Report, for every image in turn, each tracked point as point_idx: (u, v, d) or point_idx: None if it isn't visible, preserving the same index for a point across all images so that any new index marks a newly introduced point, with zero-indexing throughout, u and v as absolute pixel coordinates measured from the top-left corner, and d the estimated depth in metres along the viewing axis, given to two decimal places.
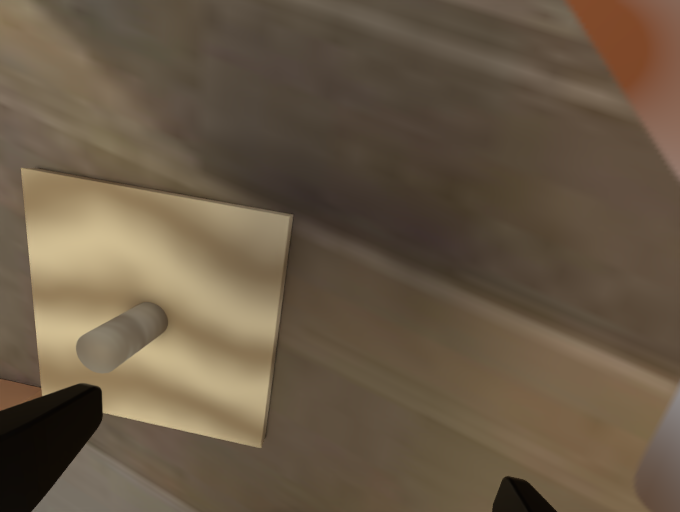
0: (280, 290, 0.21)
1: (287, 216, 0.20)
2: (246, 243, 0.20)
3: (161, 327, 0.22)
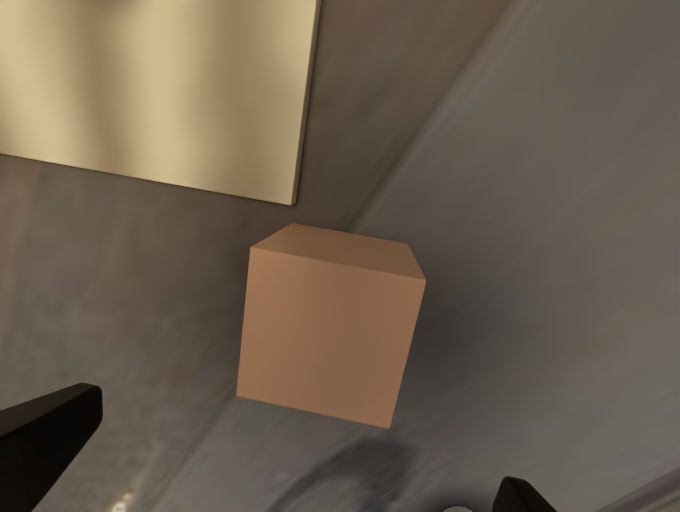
0: None
1: None
2: None
3: None
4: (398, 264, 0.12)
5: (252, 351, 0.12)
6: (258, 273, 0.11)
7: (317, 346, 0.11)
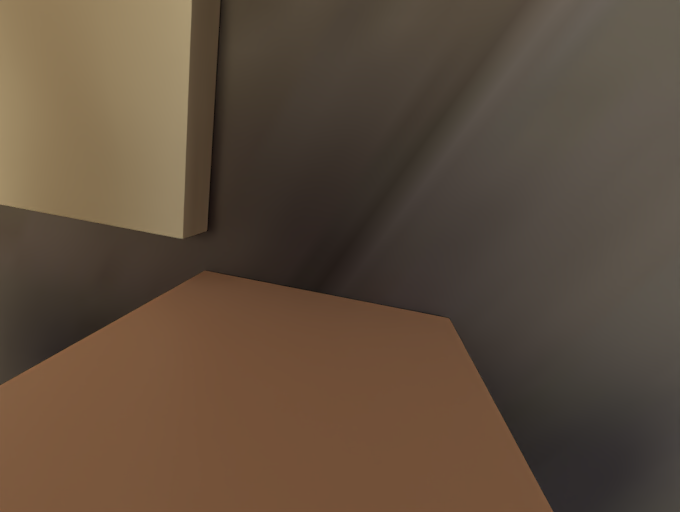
0: None
1: None
2: None
3: None
4: (474, 508, 0.03)
5: None
6: None
7: None
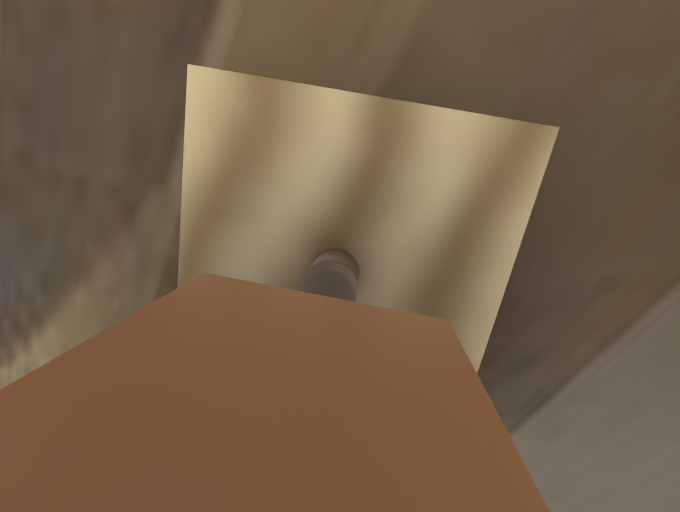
0: (287, 82, 0.15)
1: (189, 68, 0.16)
2: (226, 126, 0.16)
3: (337, 252, 0.16)
4: None
5: None
6: None
7: None
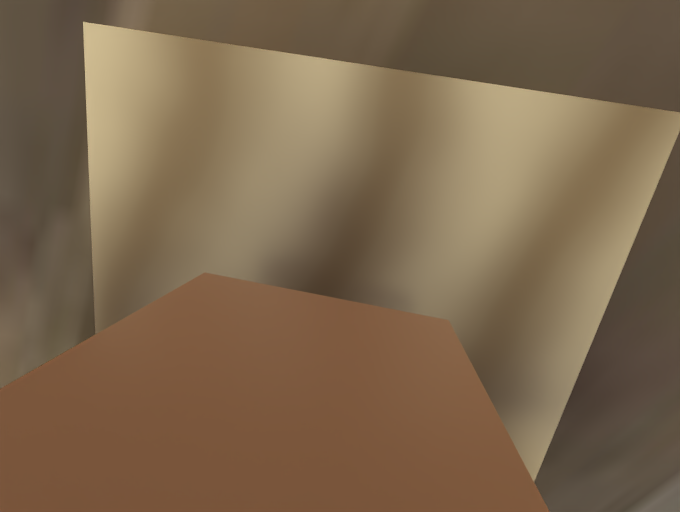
0: (240, 47, 0.10)
1: (86, 28, 0.10)
2: (149, 120, 0.10)
3: None
4: None
5: None
6: None
7: None
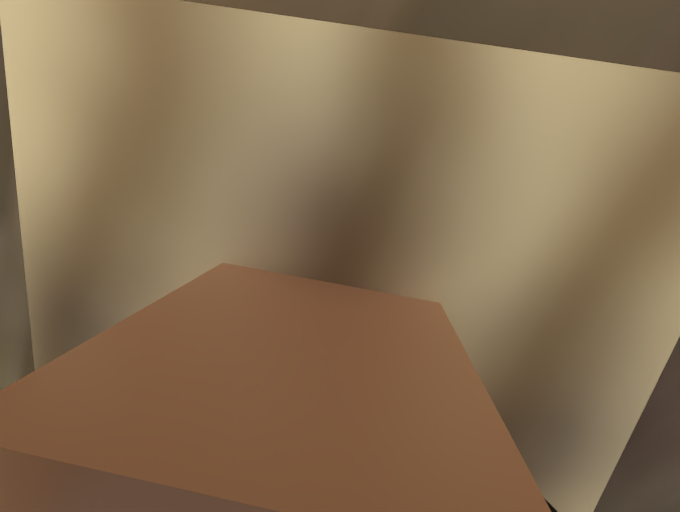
0: (200, 6, 0.07)
1: None
2: (86, 103, 0.08)
3: None
4: (449, 431, 0.04)
5: None
6: None
7: None
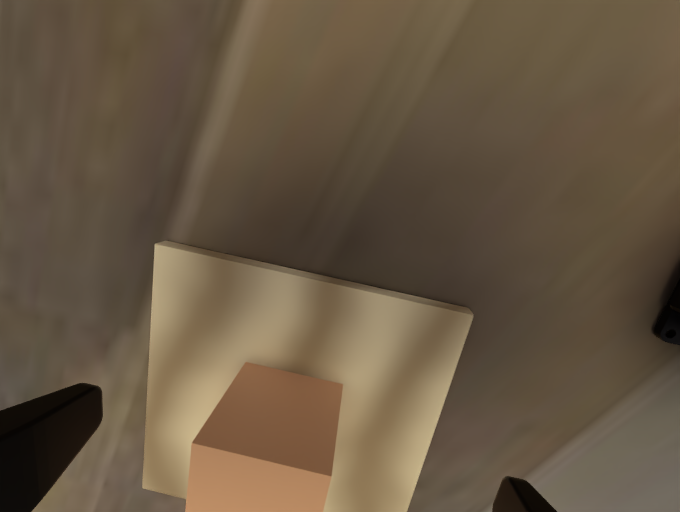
0: (241, 263, 0.18)
1: (156, 246, 0.18)
2: (188, 294, 0.18)
3: None
4: (317, 444, 0.14)
5: None
6: (198, 461, 0.13)
7: None
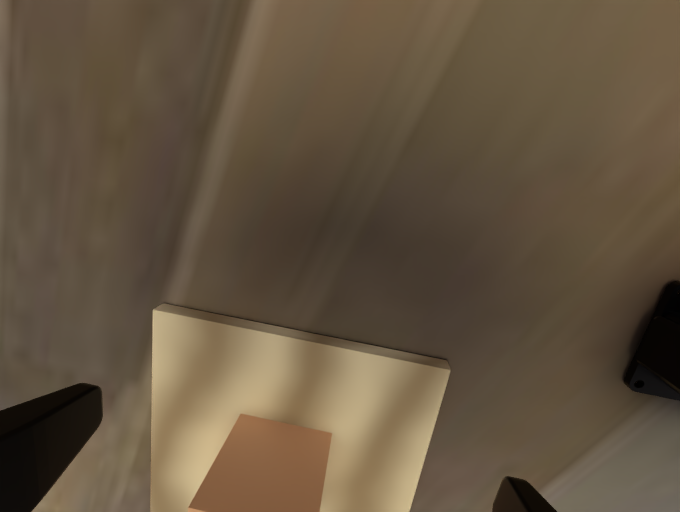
0: (233, 325, 0.19)
1: (154, 311, 0.19)
2: (185, 353, 0.20)
3: None
4: (304, 502, 0.16)
5: None
6: None
7: None
